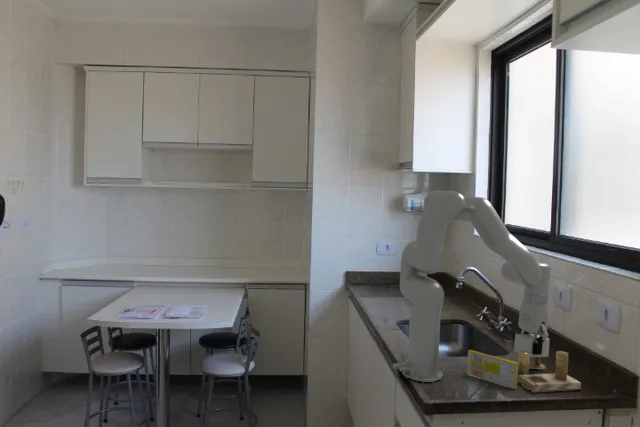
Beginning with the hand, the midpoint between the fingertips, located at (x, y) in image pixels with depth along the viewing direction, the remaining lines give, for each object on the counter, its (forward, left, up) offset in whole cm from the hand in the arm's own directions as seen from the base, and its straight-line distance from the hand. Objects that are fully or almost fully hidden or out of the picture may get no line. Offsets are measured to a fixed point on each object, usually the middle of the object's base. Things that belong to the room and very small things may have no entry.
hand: (530, 350), depth 173 cm
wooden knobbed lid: (+1, 0, -6) cm, 6 cm away
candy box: (-20, -10, -6) cm, 23 cm away
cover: (0, 0, -1) cm, 1 cm away
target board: (-4, -16, -6) cm, 17 cm away
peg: (-7, -7, -6) cm, 11 cm away
